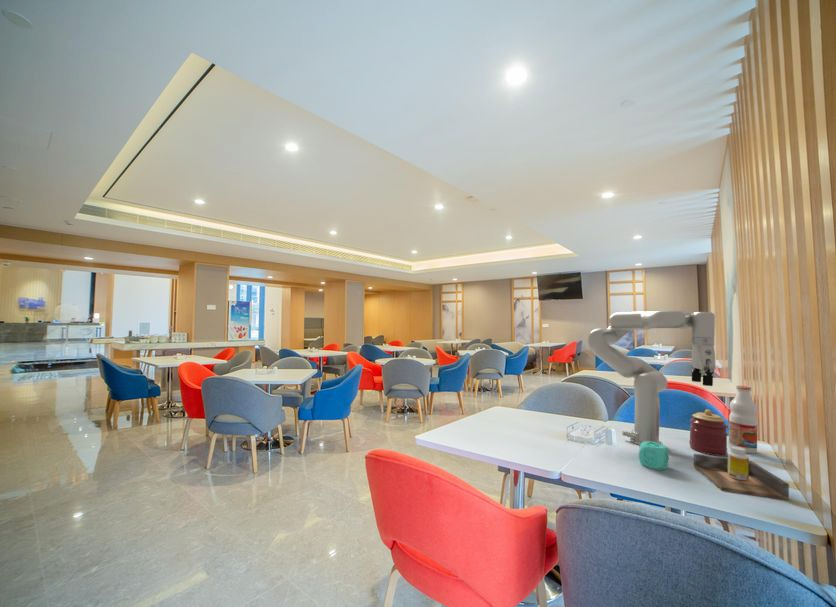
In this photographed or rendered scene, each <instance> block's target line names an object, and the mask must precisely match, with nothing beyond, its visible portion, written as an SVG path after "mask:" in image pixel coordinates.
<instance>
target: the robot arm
mask: <svg viewBox="0 0 836 607" xmlns="http://www.w3.org/2000/svg"><path fill="white" fill-rule="evenodd" d="M608 324H609V326H608V327H607V328H606V327H605V328H604V327H603V328H602V327H600V328H595V329H593V330H591V331H590V332H589V334H588V335H587V336H588V338H587V343H588V347H589V349H590V350H591V352H592V353H593V354H594V355H595V356H596V357H597V358H598V359H599V360H601V361H602V362H604V363H605V364H606V365H608V367H610V368H611V369H612V370H614V371H615V372H616V373H618V374H619V375H620V376H621V377H624V378H626V379H630V378H631V379H632V378H634V380H633V390H634V427H633V429H632V430H631V431H625V430H623V431H622V434H621V435H622V436H623V437H624V436H625V437H627V438H629V440H630V442H632V443H633V444H635V445H639V446H640V445H641V443H642V442H644V441H651V442H656V443H660V444H663V445H664V443H663V442H662V441H660V412H661V410H660V409H661V408H660V406H661V404H660V397H659V396H660V394H659V393H662V392H664V391H665V390H666V389H667V387H668V380H667V377H666V375H664V374H663V373H661V372H660V371H659V370H657V369H656V368H654V367H653V366H652V365H651V364H649V363H648V362H646V361H645V360H643V359H641V358H639V357H633V356H631V357H630V356H627V355H625V354H624V353H622V352H621V351H620V350H619V349H617V348H615V347H613V346H612V345H615V344H617V343H618V342H619V341H620V340H621V339H622V338H624V337H625V336H626V335H627V334H628V333H629V332H630V331H631V330H632V331H633V330H635V331H636V330H640V331H641V330H647V331H648V330H652V329H679V330H680V329H681V330H683V329H685V330H686V329H691V335H690V336H691V338H690V339H691V342H690V343H691V345H692V349H691V361H690V363H691V381H692V382H695V383H701V382H702V385H703V386H706V387H712V386H713V382H714V374H715V373H714V372H715V370H716V353H715V352H716V351H715V332H716V331H715V330H716V329H715V328H716V326H715V325H716V315H715V313H713V312H709V311H695V312H692V311H691V312H690V311H683V310H657V311H654V310H653V311H649V310H643V311H641V310H640V311H618V312H613V313H612V314H611V315H610V316H609V318H608ZM701 371H702V372H701ZM702 373H703V375H702Z"/></svg>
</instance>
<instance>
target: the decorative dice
mask: <svg viewBox="0 0 836 607" xmlns="http://www.w3.org/2000/svg"><path fill="white" fill-rule="evenodd" d="M638 459H639V460H638V461H639V463H640V464H641V465H642V466H644V467H645V468H649V469H651V470H655V471H656V470H657V471H665V470H666V469H667V468H668V465H669V449H668V447H667V446H666V445H664V443H663V444H660V443H656V442H651V441H644V442H642V443H641V445H639V449H638Z"/></svg>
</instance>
